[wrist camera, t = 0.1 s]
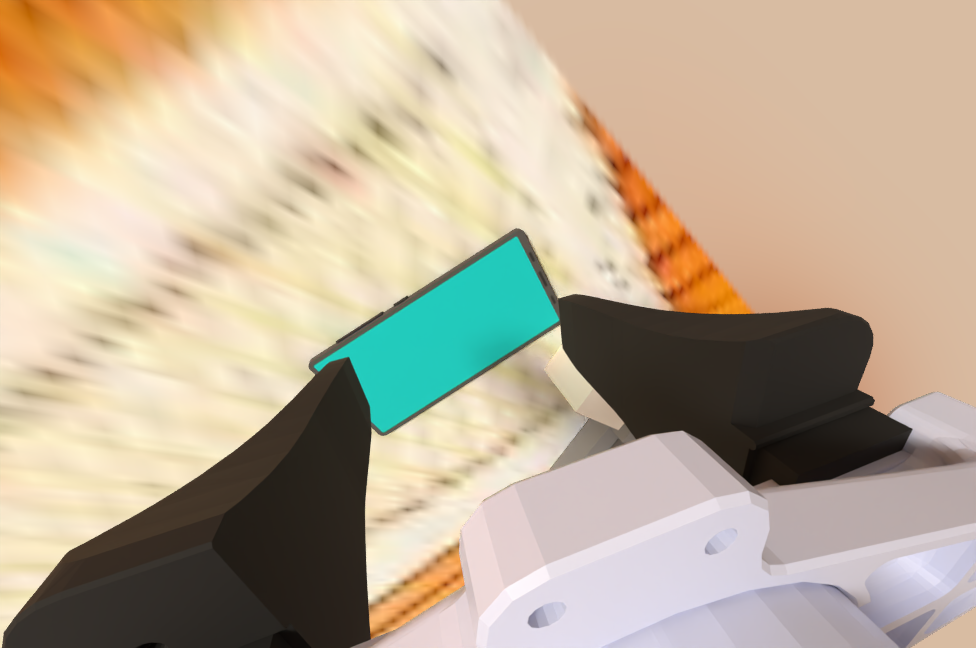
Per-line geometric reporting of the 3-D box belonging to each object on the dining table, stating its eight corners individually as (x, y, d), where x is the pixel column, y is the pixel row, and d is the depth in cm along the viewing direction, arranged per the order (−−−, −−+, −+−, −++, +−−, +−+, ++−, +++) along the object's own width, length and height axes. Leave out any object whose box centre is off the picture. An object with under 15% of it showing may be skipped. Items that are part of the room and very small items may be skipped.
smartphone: (567, 319, 24) (382, 437, 24) (561, 314, 25) (382, 429, 25) (521, 225, 20) (304, 364, 21) (516, 223, 21) (307, 357, 21)
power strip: (581, 519, 35) (600, 554, 32) (522, 504, 31) (536, 542, 28) (715, 361, 30) (752, 384, 27) (661, 326, 27) (697, 347, 24)
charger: (581, 387, 28) (619, 431, 23) (543, 369, 26) (576, 413, 21) (612, 345, 27) (658, 384, 22) (575, 324, 25) (617, 361, 20)
